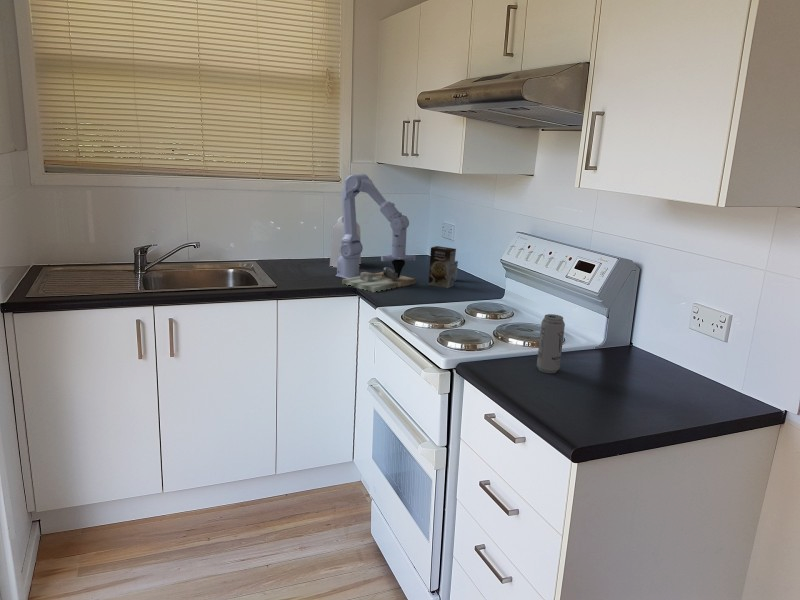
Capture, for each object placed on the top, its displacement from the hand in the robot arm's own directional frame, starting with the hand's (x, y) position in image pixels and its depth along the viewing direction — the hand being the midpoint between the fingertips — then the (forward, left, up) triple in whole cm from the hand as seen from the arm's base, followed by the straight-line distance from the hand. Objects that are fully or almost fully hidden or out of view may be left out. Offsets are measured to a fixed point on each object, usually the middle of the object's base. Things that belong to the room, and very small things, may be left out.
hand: (397, 277), depth 252 cm
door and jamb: (-6, -5, -3) cm, 8 cm away
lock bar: (-4, 0, 0) cm, 4 cm away
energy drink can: (+92, -42, -3) cm, 102 cm away
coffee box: (+12, +14, -3) cm, 19 cm away
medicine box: (+7, +25, -3) cm, 26 cm away
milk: (-42, +10, -3) cm, 43 cm away
